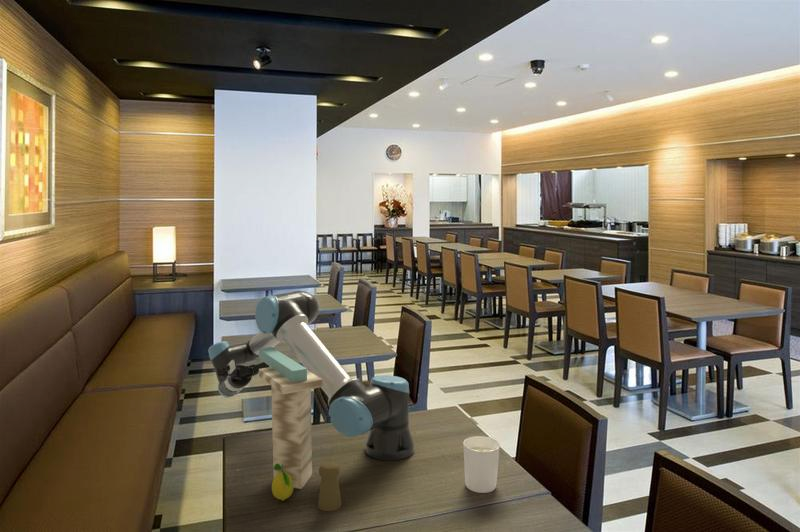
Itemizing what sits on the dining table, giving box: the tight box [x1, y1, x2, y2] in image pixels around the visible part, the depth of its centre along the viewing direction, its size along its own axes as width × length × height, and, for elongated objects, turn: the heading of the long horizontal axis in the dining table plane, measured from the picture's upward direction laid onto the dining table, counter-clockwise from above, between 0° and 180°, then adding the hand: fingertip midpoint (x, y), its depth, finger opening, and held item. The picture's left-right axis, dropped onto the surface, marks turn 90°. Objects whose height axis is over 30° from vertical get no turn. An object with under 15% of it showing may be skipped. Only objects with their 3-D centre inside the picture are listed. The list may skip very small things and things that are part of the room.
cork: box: [317, 460, 342, 512], centre depth 144 cm, size 6×6×11 cm
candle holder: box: [462, 435, 501, 494], centre depth 154 cm, size 10×10×12 cm
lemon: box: [271, 463, 294, 502], centre depth 146 cm, size 7×6×10 cm
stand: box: [258, 367, 323, 490], centre depth 156 cm, size 11×18×30 cm, turn 33°
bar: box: [259, 347, 307, 382], centre depth 159 cm, size 26×4×3 cm, turn 33°
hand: (255, 360), depth 178 cm, fingers open, 13 cm apart
